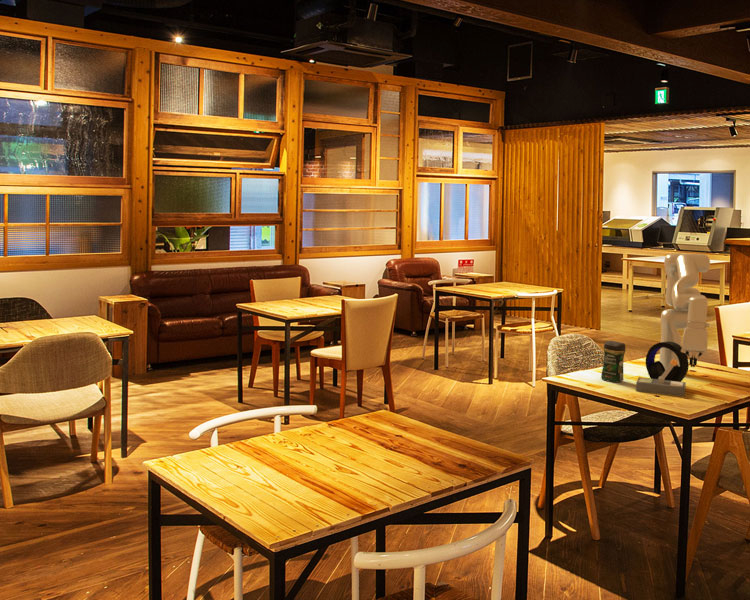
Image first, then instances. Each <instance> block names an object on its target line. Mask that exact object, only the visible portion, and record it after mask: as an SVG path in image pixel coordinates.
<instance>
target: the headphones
mask: <svg viewBox="0 0 750 600" xmlns="http://www.w3.org/2000/svg"><path fill="white" fill-rule="evenodd" d="M663 347H664V348H668V349H670V350H672V351H673V352H674V353H675V354H676V355H677V357H678V360H679V366H678V365H676V366H674V367H673V368H672V369H671V371H670V372H669V373H668V375H667V376H666V377H665V379H664V380H668V381H677V382H683V380H684V379H685V377H686V375H687V374H688V371H689V367H690V365H689V356H688V355H687V354H686V353H683V352H681V349H682V345H681V346H680V345H679V344H677V343H675V342H670V341H667V342H661V341H660V342H657V343H655V344H653V345H652V346H651V347H650V348H649V349H648V351H647V353H646V356H645V368H646V371H647V373H648V376H649V378H651V379H658V378H659V376H662V375H663V373H664V372H665V368H664V366H663V364H662V363H661V362H660V361H659V360H656V361H655V359H656V355H657V353H658V351H660V349H661V348H663Z"/></svg>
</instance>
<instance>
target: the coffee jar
mask: <svg viewBox="0 0 750 600" xmlns="http://www.w3.org/2000/svg"><path fill="white" fill-rule="evenodd" d="M602 350H603V355H604V356H603V362H602V363H603V365H602V370H601V376H600V379H602V380H603V381H607V382H612V383H621V382H623V381H624V357H625V353H626V352H627V351H626V344H625V343H624V342H619V341H614V340H608V341H607V340H606V341H605V342H604V344H603V349H602Z"/></svg>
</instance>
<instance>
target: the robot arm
mask: <svg viewBox="0 0 750 600" xmlns="http://www.w3.org/2000/svg"><path fill="white" fill-rule="evenodd" d="M663 264H664V270H665V273H666V289H665V303H666V305H668V306H669V307H673V308H668V309H664V310H662V312H661V314H660V326H661V331H660V332H661V333H660V336H661V337H660V342H667V341H670V342H675V343H677V344H679V345H680V346H681V347H682V349H681V352H683V353H686V354H687V357H688V358H689V360H688V362H689V366H690V368H695V367H696V366H697V363H698V358H699V357H701V356H706V355H708V350H707V349H708V343H709V342H708V338H709V337H708V336H709V335H708V332H709V331H708V327H710V323H707V317H708V316H707V313H708V303H709V301H708V298H707V296H705V294H704V295H703V294H701V292H700V290H699V289H698V288H695V286H696V285H698V284H699V283H700V275H699V273H707V272H709V271H710V268H711V261H710V257H709V256H708V254H704V253H669V254H667V255H666V256H665V257H664V262H663ZM678 330H683V332H682V333H683V334H682V335H681V334H680V333H679V332H678ZM693 352H695V354H694V356H693ZM658 359H659V360H658V361H660V362H661V363H662V364H663V366H664V368H665V371H666V369H667V368H668V367H669V365H670V364H671V363H670V362H671V361H672V359H675V360H676V361H678V363H677V364H676V365H678V366H680V365H679V360H678V357H677V355H676V354H675V353H674V352H673V351H672V350H670V349H668V348H664V347H663V348H661V349H659V358H658Z"/></svg>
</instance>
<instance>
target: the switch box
mask: <svg viewBox="0 0 750 600" xmlns="http://www.w3.org/2000/svg"><path fill="white" fill-rule="evenodd" d="M660 377H661V376H659V378H658V379H651V378H650V377H640V376H638V377H637V380H636V386H635V392H640V393H641V392H642V393H643V392H644V393H651V394H658V395H659V394H660V395H665V396H666V395H667V396H675V397H682V398H683V397H685V393H686V383H687V382H684V381H681V382H677V381H668V380H664V378H660Z"/></svg>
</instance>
